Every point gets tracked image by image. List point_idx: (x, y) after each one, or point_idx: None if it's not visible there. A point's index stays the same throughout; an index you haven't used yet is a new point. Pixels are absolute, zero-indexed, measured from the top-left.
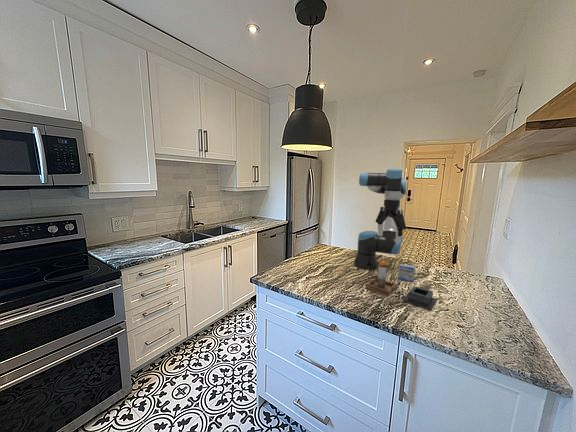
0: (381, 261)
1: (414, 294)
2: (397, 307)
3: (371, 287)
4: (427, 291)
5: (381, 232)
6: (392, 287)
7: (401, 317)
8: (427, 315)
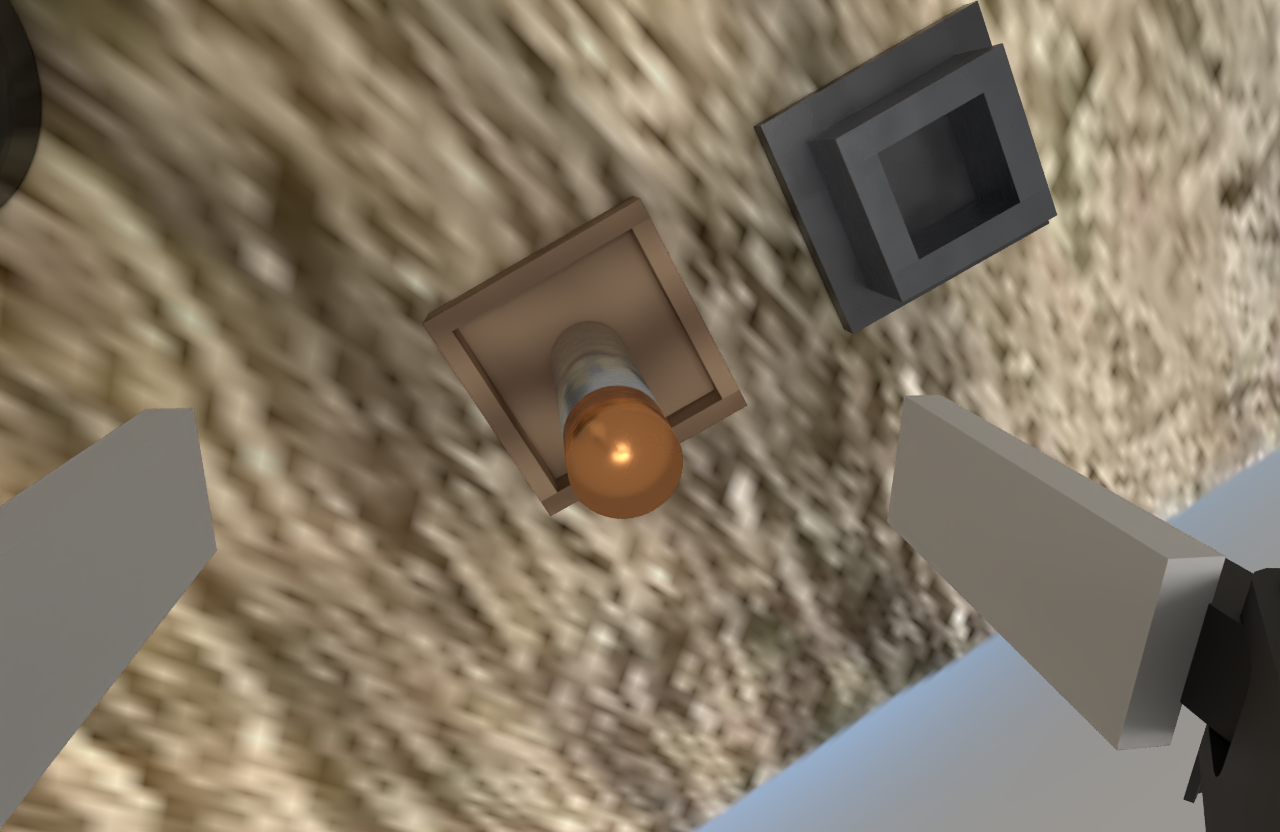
0: (642, 508)
1: (942, 274)
2: (889, 436)
3: None
4: (971, 98)
5: (149, 503)
6: (688, 305)
7: None
8: (1056, 303)
